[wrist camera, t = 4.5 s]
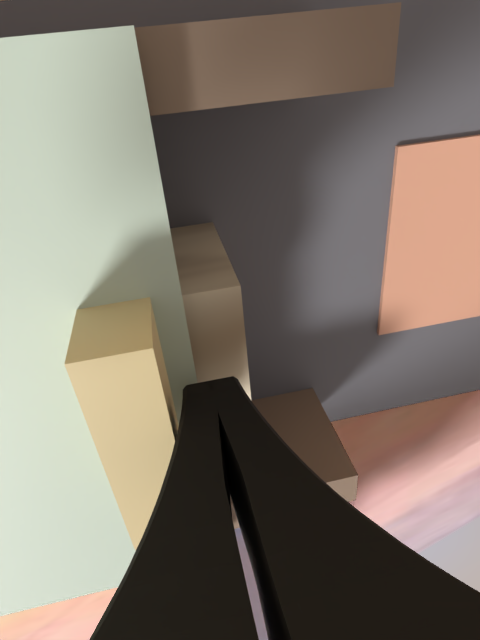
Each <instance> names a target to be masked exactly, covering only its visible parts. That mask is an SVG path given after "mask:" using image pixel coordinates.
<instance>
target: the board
mask: <svg viewBox="0 0 480 640" xmlns="http://www.w3.org/2000/svg"><path fill="white" fill-rule="evenodd" d="M131 25H134V30H135V35H136V41H137V47H138V52H139V58H140V63H141V69H142V75H143V80H144V86H145V91H146V97H147V103H148V108H149V114H150V119H151V125H152V131H153V136H154V142H155V147H156V153H157V159H158V164H159V170H160V175H161V181H162V187H163V192H164V198H165V203H166V209H167V215H168V220H169V226H170V229H171V228H177V227H184V226H191V225H197V224H204V223H210V222H213V224H214V226H215V228H216V231H217V233H218V235H219V238H220V240H221V242H222V244H223V247H224V249H225V251H226V254H227V256H228V258H229V260H230V263H231V265H232V267H233V269H234V272H235V274H236V276H237V279H238V281H239V283H240V285H241V295H242V306H243V316H244V327H245V337H246V348H247V358H248V369H249V379H250V390H251V400H252V402H253V404H254V405H255V406H256V408H257V409H258V410H259V412H260V413H261V414H262V416H263V417H264V418H265V419H266V421H267V422H268V423H269V424H270V425H271V426H272V428H273V429H274V430H275V431H276V432H277V434H278V435H279V436H280V437H281V438H282V439H283V440H284V442H285V443H286V444H287V445H288V446H289V447H290V448H291V449H292V450H293V451H294V452H295V453H296V454H297V455H298V456H299V457H300V459H301V460H302V461H303V462H304V463H305V464H306V465H307V466H308V467H309V468H310V469H311V470H313V471H314V472H315V473H316V474H317V475H318V476H319V477H320V478H321V479H322V480H323V481H324V482H325V483H327V484H328V485H329V486H330V487H331V488H332V489H333V490H334V491H336V492H337V493H338V494H339V495H340V496H341V497H343V498H344V499H345V500H346V501H347V502H350V501H354V500H356V493H357V482H358V474H357V472H356V470H355V468H354V466H353V464H352V463H351V461H350V459H349V457H348V455H347V453H346V451H345V449H344V447H343V445H342V443H341V441H340V439H339V437H338V436H337V434H336V432H335V430H334V428H333V426H332V424H331V421H336V420H341V419H345V418H350V417H355V416H359V415H364V414H369V413H373V412H378V411H383V410H387V409H392V408H397V407H401V406H406V405H411V404H415V403H420V402H425V401H429V400H434V399H439V398H443V397H448V396H453V395H457V394H462V393H467V392H471V391H476V390H480V0H3V1H0V38H4V37H15V36H25V35H36V34H47V33H57V32H68V31H78V30H89V29H99V28H110V27H121V26H131ZM230 500H231V496H230ZM231 509H232V518H233V525H234V529H237V528H240V526H239V523H238V520H237V516H236V513H235V510H234V506H233V503H232V500H231Z"/></svg>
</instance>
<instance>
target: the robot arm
mask: <svg viewBox="0 0 480 640" xmlns="http://www.w3.org/2000/svg"><path fill="white" fill-rule="evenodd" d="M230 496H231V500H232V503H233V506H234V510H235V513H236V516H237V520H238V523H239V526H240V528H237V529H234V525H233V518H232V509H231V500H230ZM90 640H480V592H478V591H477V590H475V589H473V588H471V587H470V586H468V585H466V584H465V583H463V582H461V581H460V580H458V579H456V578H455V577H453V576H451V575H450V574H449V573H447V572H445V571H444V570H442V569H440V568H439V567H437V566H436V565H434V564H433V563H431V562H430V561H428V560H426V559H425V558H424V557H422V556H421V555H419V554H418V553H416V552H415V551H413V550H412V549H410V548H409V547H407V546H406V545H404V544H403V543H401V542H400V541H399V540H397V539H396V538H395V537H393V536H392V535H390V534H389V533H388V532H386V531H385V530H384V529H382V528H381V527H380V526H378V525H377V524H376V523H374V522H373V521H372V520H370V519H369V518H368V517H366V516H365V515H364V514H362V513H361V512H360V511H358V510H357V509H356V508H355V507H353V506H352V505H351V504H350V503H349V502H347V501H346V500H345V499H344V498H343V497H341V496H340V495H339V494H338V493H337V492H336V491H334V490H333V489H332V488H331V487H330V486H329V485H328V484H327V483H325V482H324V481H323V480H322V479H321V478H320V477H319V476H318V475H317V474H316V473H315V472H314V471H313V470H311V469H310V468H309V467H308V466H307V465H306V464H305V463H304V462H303V461H302V460H301V459H300V457H299V456H298V455H297V454H296V453H295V452H294V451H293V450H292V449H291V448H290V447H289V446H288V445H287V444H286V443H285V442H284V440H283V439H282V438H281V437H280V436H279V435H278V434H277V432H276V431H275V430H274V429H273V428H272V426H271V425H270V424H269V423H268V422H267V421H266V419H265V418H264V417H263V416H262V414H261V413H260V412H259V410H258V409H257V408H256V406H255V405H254V404H253V402H252V401H251V399H250V398H249V397H248V395H247V394H246V392H245V390H244V389H243V387H242V386H241V384H240V382H239V380H238V379H237V378H235V377H234V376H231V377H226V378H221V379H215V380H210V381H205V382H200V383H195V384H189V385H186V386H185V387H184V389H183V400H182V410H181V416H180V422H179V427H178V432H177V436H176V440H175V444H174V448H173V452H172V456H171V459H170V463H169V466H168V469H167V472H166V475H165V478H164V481H163V484H162V487H161V491H160V493H159V496H158V499H157V502H156V504H155V507H154V509H153V512H152V515H151V517H150V519H149V522H148V524H147V527H146V529H145V532H144V534H143V536H142V538H141V541H140V543H139V545H138V547H137V549H136V551H135V554H134V556H133V558H132V560H131V562H130V565H129V567H128V569H127V571H126V573H125V575H124V577H123V579H122V581H121V583H120V585H119V587H118V589H117V590H116V592H115V594H114V596H113V598H112V600H111V601H110V603H109V605H108V607H107V609H106V611H105V612H104V614H103V616H102V618H101V620H100V622H99V623H98V625H97V627H96V629H95V631H94V633H93V634H92V636H91V638H90Z"/></svg>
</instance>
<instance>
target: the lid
mask: <svg viewBox="0 0 480 640" xmlns="http://www.w3.org/2000/svg"><path fill="white" fill-rule="evenodd" d="M195 383H197V377H196V371H195V366H194V360H193V355H192V349H191V343H190V338H189V332H188V327H187V321H186V315H185V310H184V304H183V299H182V293H181V287H180V282H179V276H178V271H177V265H176V259H175V254H174V248H173V243H172V237H171V231H170V226H169V220H168V215H167V209H166V203H165V198H164V192H163V187H162V181H161V175H160V170H159V164H158V159H157V153H156V147H155V142H154V136H153V131H152V125H151V119H150V114H149V108H148V103H147V97H146V91H145V86H144V80H143V75H142V69H141V63H140V58H139V52H138V47H137V41H136V35H135V30H134V25H131V26H121V27H110V28H99V29H89V30H78V31H68V32H57V33H47V34H36V35H25V36H15V37H4V38H0V616H3V615H7V614H11V613H15V612H19V611H23V610H27V609H31V608H35V607H39V606H43V605H47V604H51V603H55V602H59V601H64V600H68V599H72V598H76V597H80V596H84V595H88V594H92V593H96V592H100V591H104V590H108V589H112V588H116V587H119V585H120V583H121V581H122V579H123V577H124V575H125V573H126V571H127V569H128V567H129V565H130V562H131V560H132V558H133V556H134V554H135V551H136V549H137V547H138V545H139V543H140V541H141V538H142V536H143V534H144V532H145V529H146V527H147V524H148V522H149V519H150V517H151V515H152V512H153V509H154V507H155V504H156V502H157V499H158V496H159V493H160V491H161V487H162V484H163V481H164V478H165V475H166V472H167V469H168V466H169V463H170V459H171V456H172V452H173V448H174V444H175V440H176V436H177V432H178V427H179V422H180V416H181V410H182V400H183V389H184V387H185V386H186V385H189V384H195Z"/></svg>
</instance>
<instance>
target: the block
mask: <svg viewBox="0 0 480 640" xmlns="http://www.w3.org/2000/svg"><path fill="white" fill-rule="evenodd" d="M170 231H171V237H172V243H173V248H174V254H175V259H176V265H177V271H178V276H179V282H180V287H181V293H182V299H183V304H184V310H185V315H186V321H187V327H188V332H189V338H190V343H191V349H192V355H193V360H194V366H195V371H196V377H197V383H200V382H205V381H210V380H215V379H221V378H226V377H231V376H234V377H235V378H237V379H238V380H239V382H240V384H241V386H242V387H243V389H244V390H245V392H246V394H247V395H248V397H249V398H250V399H251V390H250V379H249V369H248V358H247V348H246V337H245V327H244V316H243V306H242V295H241V285H240V283H239V281H238V279H237V276H236V274H235V272H234V269H233V267H232V265H231V263H230V260H229V258H228V256H227V254H226V251H225V249H224V247H223V244H222V242H221V240H220V238H219V235H218V233H217V231H216V228H215V226H214V224H213V222H210V223H204V224H197V225H191V226H184V227H177V228H171V229H170ZM251 401H252V400H251Z"/></svg>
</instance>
